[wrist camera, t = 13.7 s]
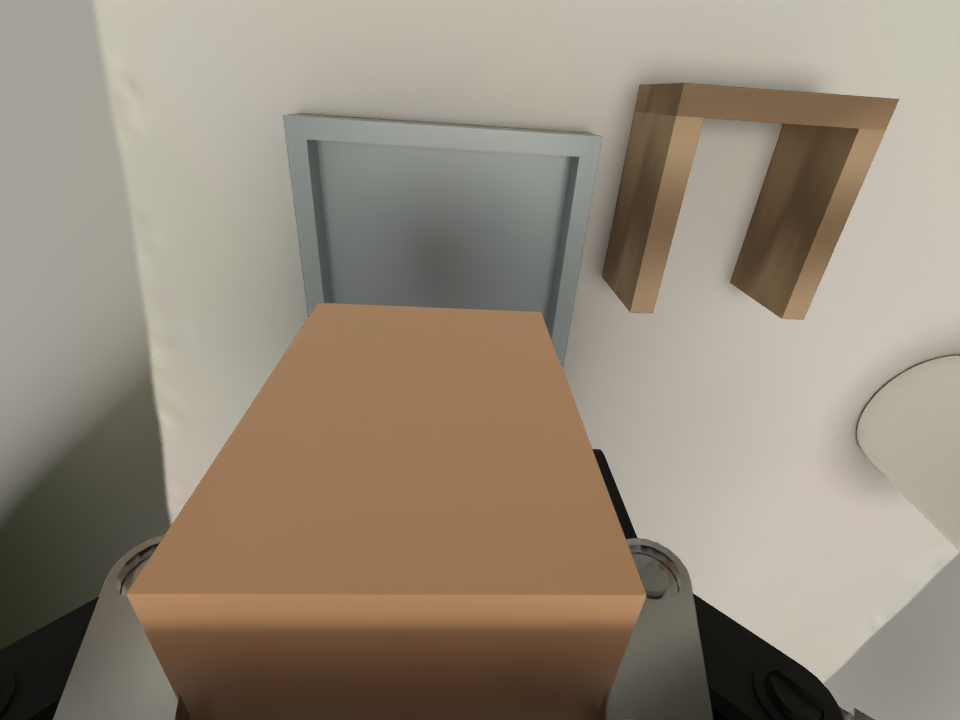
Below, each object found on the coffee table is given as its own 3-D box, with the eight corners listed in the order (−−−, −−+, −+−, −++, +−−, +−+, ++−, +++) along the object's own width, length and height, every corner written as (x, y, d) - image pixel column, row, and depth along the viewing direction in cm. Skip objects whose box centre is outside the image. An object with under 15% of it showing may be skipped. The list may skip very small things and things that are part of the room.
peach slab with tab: (500, 606, 16) (525, 914, 10) (352, 606, 16) (287, 925, 10) (540, 311, 11) (646, 594, 5) (318, 302, 11) (125, 593, 4)
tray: (542, 432, 29) (548, 454, 27) (333, 427, 28) (324, 449, 26) (590, 133, 21) (602, 136, 19) (298, 113, 20) (283, 115, 18)
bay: (748, 283, 25) (803, 319, 21) (602, 276, 24) (630, 312, 20) (815, 97, 21) (899, 99, 17) (640, 84, 20) (684, 83, 16)
